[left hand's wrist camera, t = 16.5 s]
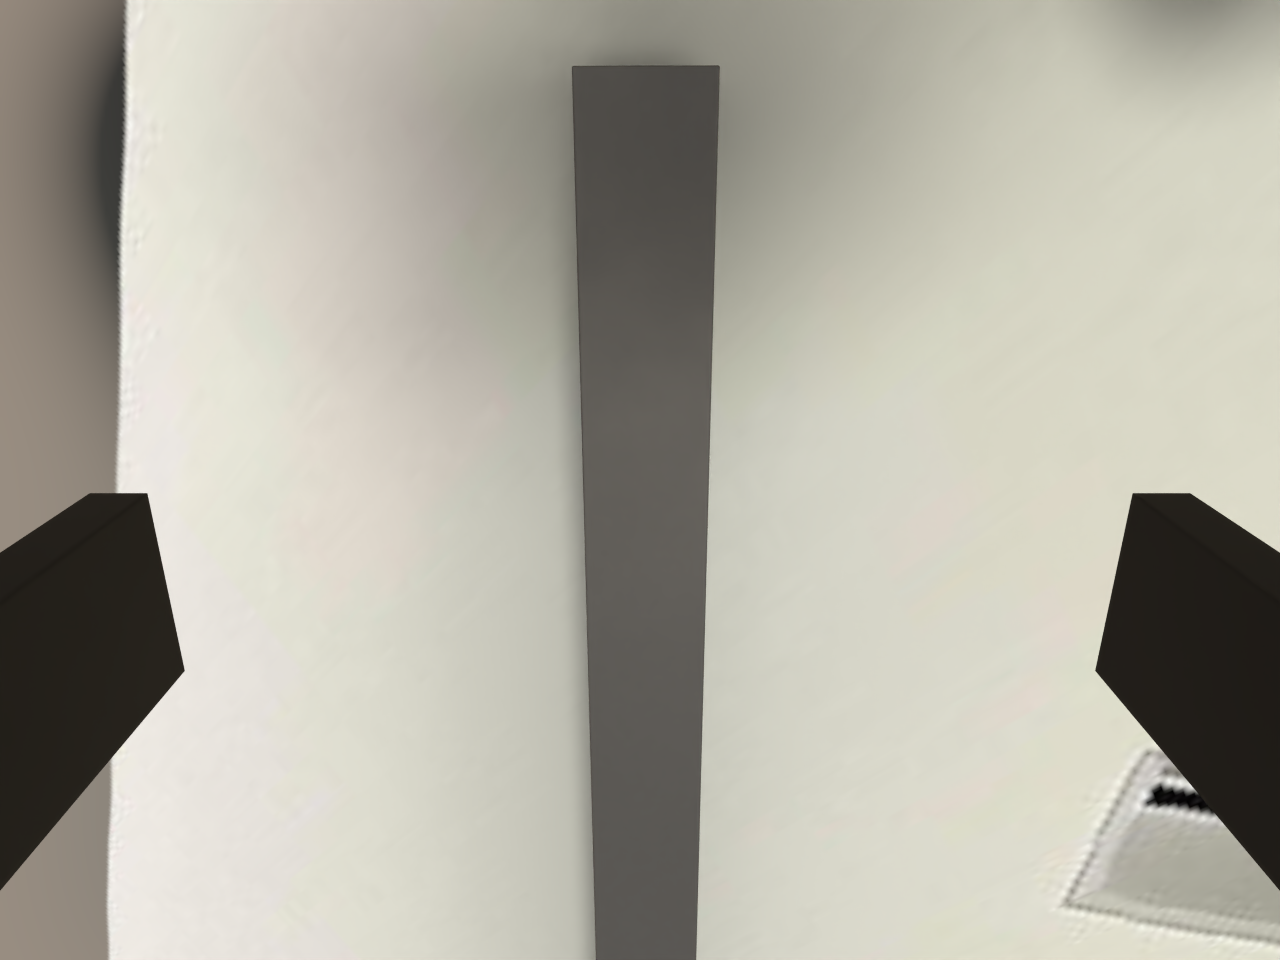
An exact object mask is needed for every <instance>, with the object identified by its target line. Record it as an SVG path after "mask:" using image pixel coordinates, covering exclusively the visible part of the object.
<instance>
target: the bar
mask: <svg viewBox="0 0 1280 960" xmlns="http://www.w3.org/2000/svg"><path fill="white" fill-rule="evenodd" d="M719 73H720V67H719V66H573V67H572V86H573V123H574V160H575V197H576V234H577V271H578V308H579V345H580V382H581V419H582V456H583V493H584V529H585V566H586V603H587V640H588V677H589V714H590V751H591V788H592V825H593V862H594V899H595V936H596V960H696V942H697V904H698V866H699V828H700V790H701V753H702V715H703V677H704V639H705V602H706V564H707V526H708V488H709V450H710V413H711V375H712V337H713V299H714V261H715V224H716V186H717V148H718V110H719Z"/></svg>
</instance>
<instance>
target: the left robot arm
mask: <svg viewBox="0 0 1280 960" xmlns="http://www.w3.org/2000/svg"><path fill="white" fill-rule="evenodd" d="M184 671H185V670H184V665H183V660H182V656H181V651H180V646H179V642H178V637H177V632H176V627H175V623H174V618H173V613H172V608H171V604H170V599H169V594H168V589H167V585H166V580H165V575H164V570H163V566H162V561H161V556H160V551H159V547H158V542H157V537H156V532H155V528H154V523H153V518H152V513H151V509H150V504H149V499H148V494H147V493H90V494H88V495H87V496H85V497H84V498H82V499H81V500H79V501H78V502H76V503H74V504H73V505H72V506H70V507H68V508H67V509H66V510H64V511H62V512H61V513H59V514H58V515H56V516H55V517H53V518H52V519H50V520H49V521H47V522H46V523H44V524H43V525H41V526H40V527H38V528H37V529H35V530H34V531H32V532H31V533H29V534H28V535H26V536H25V537H23V538H22V539H20V540H19V541H17V542H16V543H14V544H13V545H11V546H10V547H8V548H7V549H5V550H4V551H2V552H1V553H0V890H1V889H2V888H3V887H4V885H5V884H6V883H7V882H8V881H9V879H10V878H11V877H12V876H13V875H14V873H15V872H16V871H17V870H18V869H19V868H20V866H21V865H22V864H23V863H24V861H25V860H26V859H27V858H28V857H29V856H30V854H31V853H32V852H33V851H34V850H35V848H36V847H37V846H38V845H39V844H40V842H41V841H42V840H43V839H44V838H45V836H46V835H47V834H48V833H49V832H50V831H51V829H52V828H53V827H54V826H55V825H56V823H57V822H58V821H59V820H60V819H61V817H62V816H63V815H64V814H65V813H66V811H67V810H68V809H69V808H70V807H71V806H72V804H73V803H74V802H75V801H76V800H77V798H78V797H79V796H80V795H81V794H82V792H83V791H84V790H85V789H86V788H87V787H88V785H89V784H90V783H91V782H92V781H93V779H94V778H95V777H96V776H97V775H98V773H99V772H100V771H101V770H102V769H103V767H104V766H105V765H106V764H107V763H108V761H109V760H110V759H111V758H112V757H113V756H114V754H115V753H116V752H117V751H118V750H119V748H120V747H121V746H122V745H123V744H124V742H125V741H126V740H127V739H128V738H129V736H130V735H131V734H132V733H133V732H134V731H135V729H136V728H137V727H138V726H139V725H140V723H141V722H142V721H143V720H144V719H145V717H146V716H147V715H148V714H149V713H150V711H151V710H152V709H153V708H154V707H155V706H156V704H157V703H158V702H159V701H160V700H161V698H162V697H163V696H164V695H165V694H166V692H167V691H168V690H169V689H170V688H171V686H172V685H173V684H174V683H175V682H176V680H177V679H178V678H179V677H180V676H181V675H182V673H183V672H184ZM1095 671H1096V672H1097V673H1098V675H1099V676H1100V677H1101V678H1102V679H1103V680H1104V682H1105V683H1106V684H1107V685H1108V686H1109V688H1110V689H1111V690H1112V691H1113V692H1114V694H1115V695H1116V696H1117V697H1118V698H1119V700H1120V701H1121V702H1122V703H1123V704H1124V706H1125V707H1126V708H1127V709H1128V710H1129V711H1130V713H1131V714H1132V715H1133V716H1134V717H1135V719H1136V720H1137V721H1138V722H1139V723H1140V725H1141V726H1142V727H1143V728H1144V729H1145V731H1146V732H1147V733H1148V734H1149V735H1150V736H1151V738H1152V739H1153V740H1154V741H1155V742H1156V744H1157V745H1158V746H1159V747H1160V748H1161V750H1162V751H1163V752H1164V753H1165V754H1166V756H1167V757H1168V758H1169V759H1170V760H1171V761H1172V763H1173V764H1174V765H1175V766H1176V767H1177V769H1178V770H1179V771H1180V772H1181V773H1182V775H1183V776H1184V777H1185V778H1186V779H1187V781H1188V782H1189V783H1190V784H1191V785H1192V787H1193V788H1194V789H1195V790H1196V791H1197V792H1198V794H1199V795H1200V796H1201V797H1202V798H1203V800H1204V801H1205V802H1206V803H1207V804H1208V806H1209V807H1210V808H1211V809H1212V810H1213V812H1214V813H1215V814H1216V815H1217V816H1218V817H1219V819H1220V820H1221V821H1222V822H1223V823H1224V825H1225V826H1226V827H1227V828H1228V829H1229V831H1230V832H1231V833H1232V834H1233V835H1234V837H1235V838H1236V839H1237V840H1238V841H1239V842H1240V844H1241V845H1242V846H1243V847H1244V848H1245V850H1246V851H1247V852H1248V853H1249V854H1250V856H1251V857H1252V858H1253V859H1254V860H1255V862H1256V863H1257V864H1258V865H1259V866H1260V868H1261V869H1262V870H1263V871H1264V872H1265V873H1266V875H1267V876H1268V877H1269V878H1270V879H1271V881H1272V882H1273V883H1274V884H1275V885H1276V887H1277V888H1278V889H1279V890H1280V553H1279V552H1278V551H1276V550H1275V549H1273V548H1272V547H1270V546H1269V545H1267V544H1266V543H1264V542H1263V541H1261V540H1260V539H1258V538H1257V537H1255V536H1254V535H1252V534H1251V533H1249V532H1248V531H1246V530H1245V529H1243V528H1242V527H1240V526H1239V525H1237V524H1236V523H1234V522H1233V521H1231V520H1230V519H1228V518H1227V517H1225V516H1224V515H1222V514H1221V513H1219V512H1218V511H1216V510H1215V509H1213V508H1212V507H1210V506H1209V505H1207V504H1206V503H1204V502H1202V501H1201V500H1199V499H1198V498H1196V497H1195V496H1193V495H1192V494H1190V493H1133V494H1132V499H1131V504H1130V509H1129V513H1128V518H1127V523H1126V528H1125V532H1124V537H1123V542H1122V547H1121V551H1120V556H1119V561H1118V566H1117V570H1116V575H1115V580H1114V585H1113V589H1112V594H1111V599H1110V604H1109V608H1108V613H1107V618H1106V623H1105V627H1104V632H1103V637H1102V642H1101V646H1100V651H1099V656H1098V660H1097V665H1096V670H1095Z"/></svg>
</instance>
